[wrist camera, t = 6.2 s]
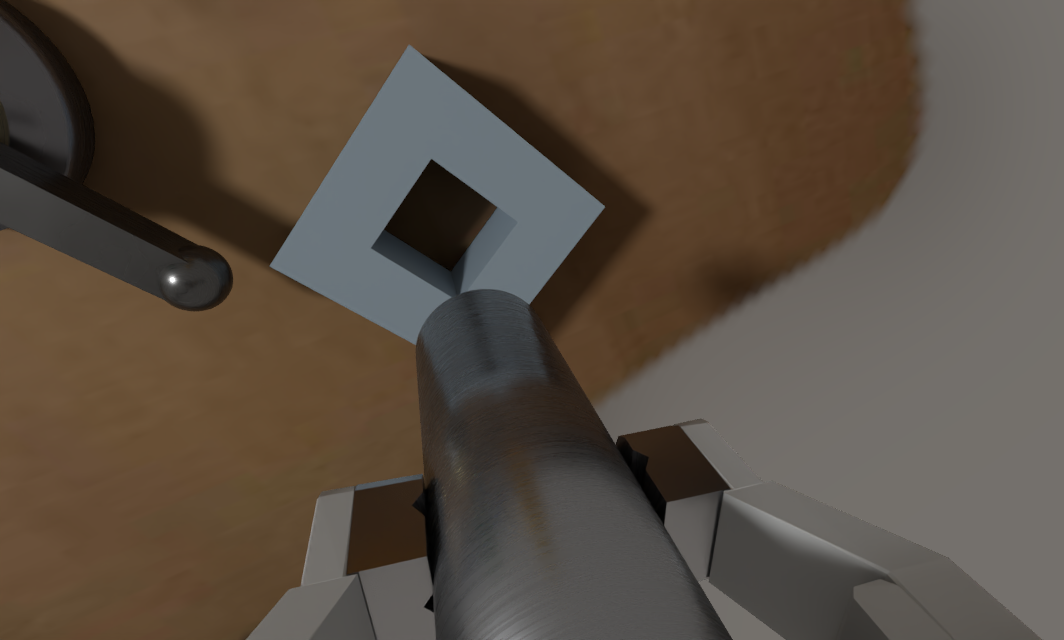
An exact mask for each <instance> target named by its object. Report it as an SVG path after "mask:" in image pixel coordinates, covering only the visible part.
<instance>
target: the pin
mask: <svg viewBox="0 0 1064 640" xmlns="http://www.w3.org/2000/svg"><path fill="white" fill-rule="evenodd" d="M416 367H417V381H418V395H419V409H420V423H421V437H422V451H423V465H424V479H425V487H426V497H427V510H428V535H429V541H430V550H431V565H432V580H433V605H434V619H435V633H436V640H732V638H731V636H730V635H729V633H728V631H727V630H726V628H725V626H724V625H723V623H722V621H721V620H720V618H719V616H718V615H717V613H716V611H715V610H714V608H713V606H712V604H711V603H710V601H709V599H708V598H707V596H706V594H705V593H704V591H703V589H702V588H701V586H700V584H699V583H698V581H697V579H696V578H695V576H694V574H693V573H692V571H691V569H690V568H689V566H688V564H687V563H686V561H685V559H684V558H683V556H682V554H681V553H680V551H679V549H678V548H677V546H676V544H675V543H674V541H673V539H672V538H671V536H670V534H669V533H668V531H667V529H666V528H665V526H664V524H663V523H662V521H661V519H660V518H659V516H658V514H657V513H656V511H655V509H654V508H653V506H652V504H651V503H650V501H649V499H648V498H647V496H646V494H645V493H644V491H643V489H642V488H641V486H640V484H639V483H638V481H637V479H636V478H635V476H634V474H633V473H632V471H631V469H630V468H629V466H628V464H627V463H626V461H625V459H624V458H623V456H622V454H621V453H620V451H619V449H618V448H617V446H616V444H615V443H614V442H613V440H612V438H611V436H610V434H609V433H608V431H607V429H606V428H605V426H604V424H603V423H602V421H601V419H600V418H599V416H598V414H597V413H596V411H595V409H594V408H593V406H592V404H591V403H590V401H589V399H588V398H587V396H586V394H585V393H584V391H583V389H582V388H581V386H580V384H579V383H578V381H577V379H576V378H575V376H574V374H573V373H572V371H571V369H570V368H569V366H568V364H567V363H566V361H565V359H564V358H563V356H562V354H561V353H560V351H559V349H558V348H557V346H556V344H555V343H554V341H553V339H552V338H551V336H550V334H549V333H548V331H547V329H546V328H545V326H544V324H543V323H542V321H541V319H540V318H539V316H538V314H537V313H536V312H535V310H534V309H533V308H532V307H531V306H530V305H529V304H528V303H527V302H525V301H524V300H522V299H521V298H519V297H517V296H515V295H513V294H511V293H508V292H505V291H501V290H495V289H477V290H471V291H467V292H463V293H461V294H458V295H456V296H453V297H452V298H450V299H448V300H446V301H445V302H443V303H442V304H441V305H439V306H438V307H437V308H436V309H435V310H434V311H433V312H432V313H431V314H430V315H429V316H428V318H427V319H426V321H425V322H424V324H423V325H422V327H421V330H420V332H419V335H418V338H417V342H416Z"/></svg>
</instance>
